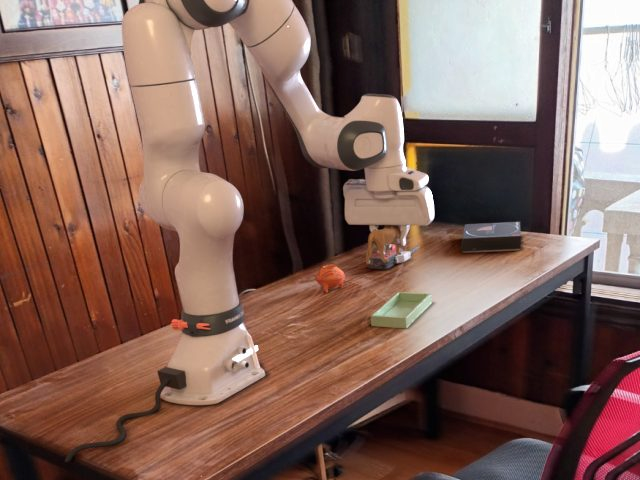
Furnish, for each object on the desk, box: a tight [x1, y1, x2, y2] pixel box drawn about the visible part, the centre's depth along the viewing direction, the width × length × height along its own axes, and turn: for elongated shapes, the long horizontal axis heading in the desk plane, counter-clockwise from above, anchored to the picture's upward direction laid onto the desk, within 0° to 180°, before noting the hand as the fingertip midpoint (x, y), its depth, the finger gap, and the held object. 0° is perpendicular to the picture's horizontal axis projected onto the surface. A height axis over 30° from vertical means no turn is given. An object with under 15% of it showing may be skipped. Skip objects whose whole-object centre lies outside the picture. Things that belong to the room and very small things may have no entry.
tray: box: [370, 291, 433, 329], centre depth 177 cm, size 17×9×2 cm, turn 157°
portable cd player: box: [460, 221, 522, 254], centre depth 222 cm, size 16×17×4 cm
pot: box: [314, 264, 346, 293], centre depth 197 cm, size 8×8×7 cm
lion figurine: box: [365, 225, 403, 265], centre depth 166 cm, size 15×5×9 cm, turn 156°
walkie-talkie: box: [366, 243, 421, 271], centre depth 215 cm, size 9×4×20 cm
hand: (391, 245), depth 168 cm, fingers closed on lion figurine, 4 cm apart
